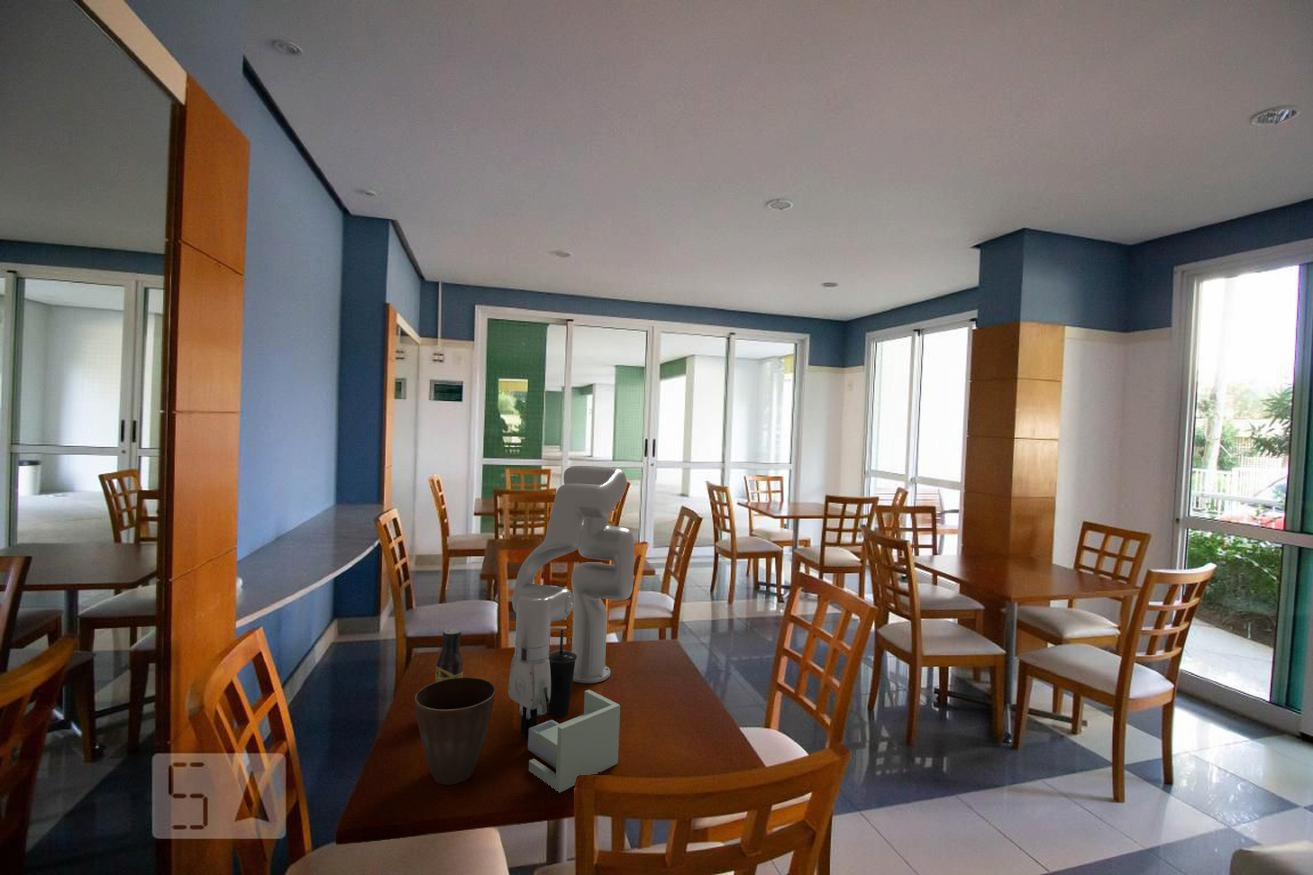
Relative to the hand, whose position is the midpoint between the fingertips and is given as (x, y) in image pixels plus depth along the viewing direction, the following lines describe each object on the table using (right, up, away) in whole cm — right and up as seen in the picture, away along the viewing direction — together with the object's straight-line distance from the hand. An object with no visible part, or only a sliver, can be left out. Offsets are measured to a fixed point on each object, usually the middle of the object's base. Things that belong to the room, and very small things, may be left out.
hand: (528, 733), depth 129 cm
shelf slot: (+12, -1, -11) cm, 16 cm away
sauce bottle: (-21, 0, +9) cm, 23 cm away
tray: (+8, -1, -8) cm, 11 cm away
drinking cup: (+5, -1, +12) cm, 13 cm away
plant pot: (-12, 0, -15) cm, 19 cm away
